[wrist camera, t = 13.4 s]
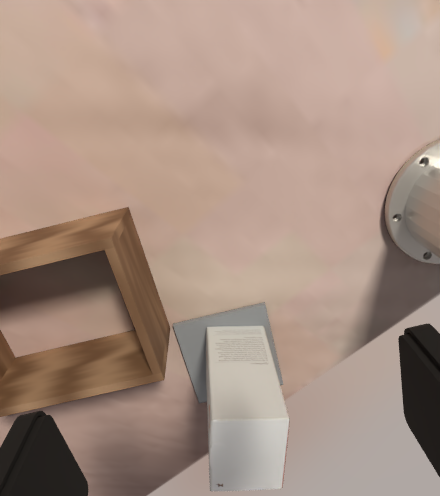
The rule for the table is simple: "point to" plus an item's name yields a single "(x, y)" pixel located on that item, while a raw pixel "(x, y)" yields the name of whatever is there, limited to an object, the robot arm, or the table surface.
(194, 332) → the pad
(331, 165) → the table surface
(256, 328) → the small box
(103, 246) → the wooden cubby frame
